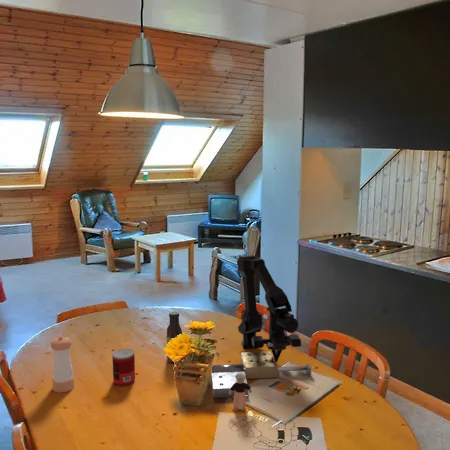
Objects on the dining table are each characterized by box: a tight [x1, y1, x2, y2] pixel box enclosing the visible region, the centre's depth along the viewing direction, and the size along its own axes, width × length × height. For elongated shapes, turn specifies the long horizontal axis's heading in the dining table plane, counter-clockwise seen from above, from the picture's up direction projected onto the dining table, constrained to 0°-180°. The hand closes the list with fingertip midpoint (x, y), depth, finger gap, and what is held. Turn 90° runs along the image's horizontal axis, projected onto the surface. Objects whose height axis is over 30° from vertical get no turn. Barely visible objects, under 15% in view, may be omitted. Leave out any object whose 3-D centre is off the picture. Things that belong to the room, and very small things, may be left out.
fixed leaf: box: [210, 363, 312, 399], centre depth 170 cm, size 16×37×5 cm, turn 95°
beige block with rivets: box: [240, 350, 279, 380], centre depth 182 cm, size 16×12×4 cm
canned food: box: [112, 348, 136, 387], centre depth 172 cm, size 8×8×11 cm
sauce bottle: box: [166, 311, 183, 364], centre depth 188 cm, size 7×6×20 cm
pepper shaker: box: [50, 335, 75, 393], centre depth 167 cm, size 7×7×19 cm
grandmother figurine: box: [228, 372, 253, 412], centre depth 153 cm, size 8×4×13 cm, turn 106°
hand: (275, 361), depth 186 cm, fingers closed
